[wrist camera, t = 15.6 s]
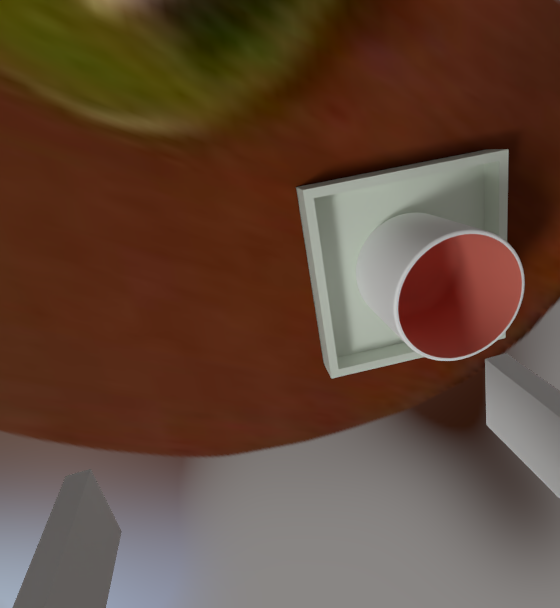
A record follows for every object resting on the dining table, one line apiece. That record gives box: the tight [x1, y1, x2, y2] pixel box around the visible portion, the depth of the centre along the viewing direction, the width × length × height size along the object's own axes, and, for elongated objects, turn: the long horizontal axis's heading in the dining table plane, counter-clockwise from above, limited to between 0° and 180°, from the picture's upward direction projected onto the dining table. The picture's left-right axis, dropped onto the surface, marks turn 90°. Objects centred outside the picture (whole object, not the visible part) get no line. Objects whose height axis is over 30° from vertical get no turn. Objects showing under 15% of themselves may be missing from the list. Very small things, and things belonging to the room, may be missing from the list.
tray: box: [296, 149, 509, 379], centre depth 39 cm, size 18×18×3 cm
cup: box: [356, 213, 525, 361], centre depth 35 cm, size 10×10×10 cm
